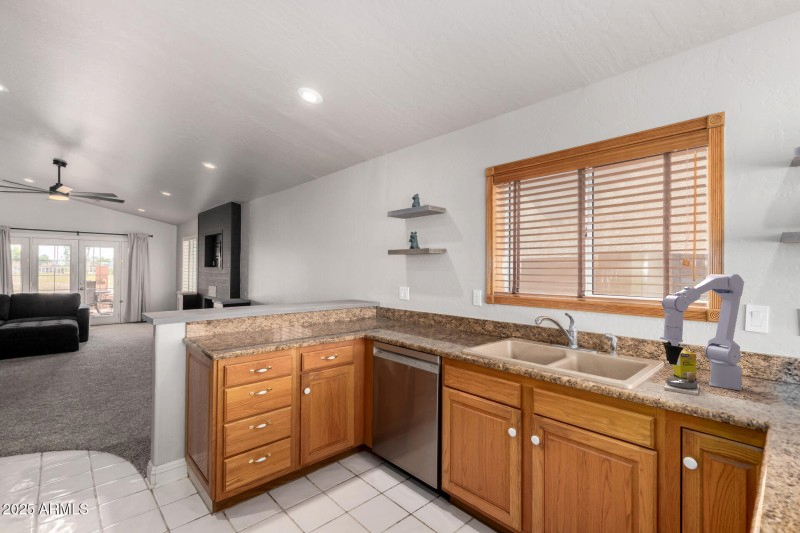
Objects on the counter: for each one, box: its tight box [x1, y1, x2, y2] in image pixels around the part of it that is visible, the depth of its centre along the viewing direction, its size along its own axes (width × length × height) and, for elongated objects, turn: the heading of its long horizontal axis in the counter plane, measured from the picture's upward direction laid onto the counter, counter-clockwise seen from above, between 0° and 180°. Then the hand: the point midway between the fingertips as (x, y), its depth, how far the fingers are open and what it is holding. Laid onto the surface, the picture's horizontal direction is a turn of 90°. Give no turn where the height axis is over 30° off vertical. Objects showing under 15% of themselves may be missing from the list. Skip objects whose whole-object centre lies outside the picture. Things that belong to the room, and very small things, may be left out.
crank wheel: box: [665, 372, 699, 389], centre depth 144 cm, size 10×10×5 cm
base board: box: [663, 382, 700, 396], centre depth 144 cm, size 10×13×1 cm
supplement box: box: [673, 350, 697, 381], centre depth 159 cm, size 6×6×11 cm
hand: (671, 362), depth 143 cm, fingers open, 7 cm apart
